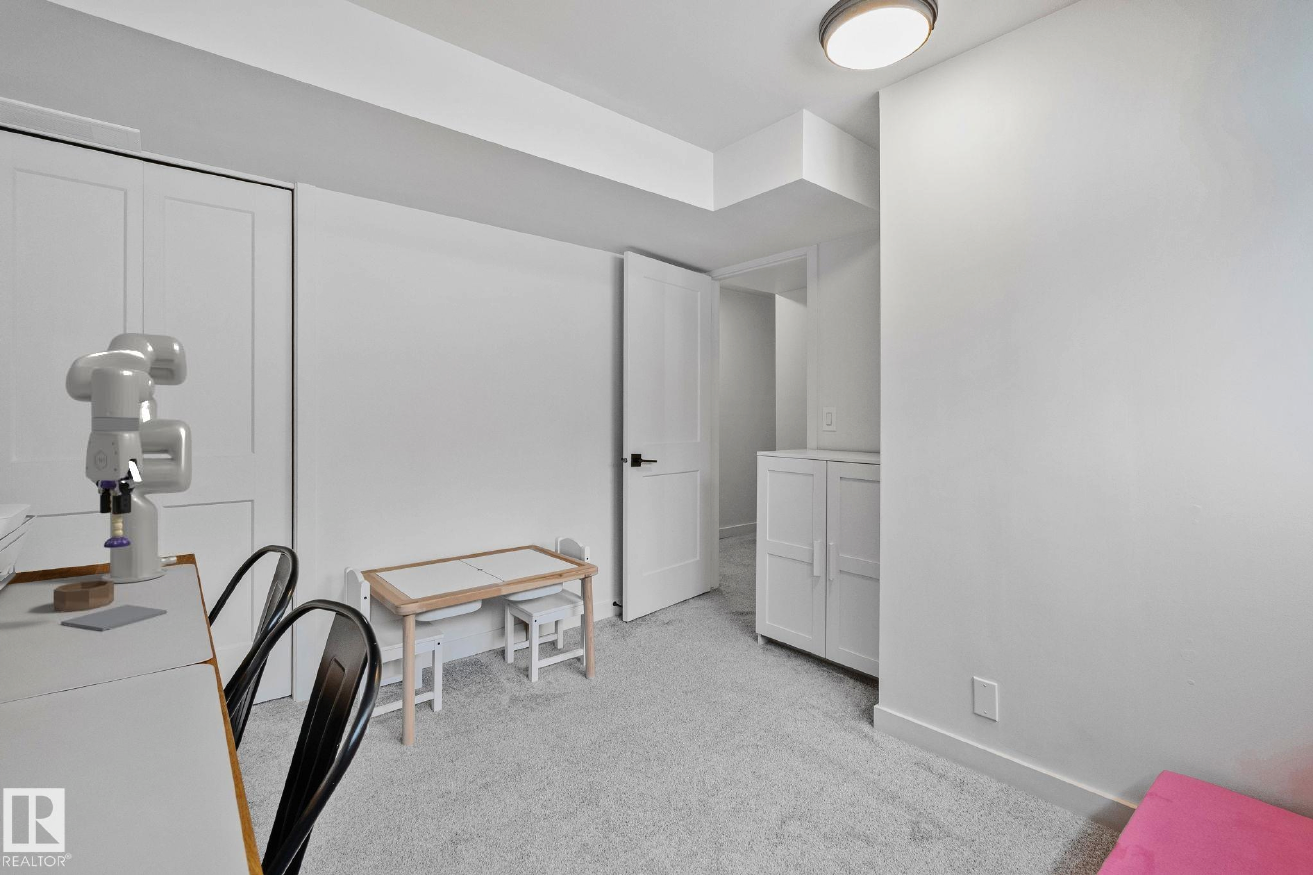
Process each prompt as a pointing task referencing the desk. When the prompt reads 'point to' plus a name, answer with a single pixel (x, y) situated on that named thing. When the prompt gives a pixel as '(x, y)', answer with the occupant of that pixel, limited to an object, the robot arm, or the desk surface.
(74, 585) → the holder ring
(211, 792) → the desk surface
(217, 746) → the desk surface
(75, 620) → the mat
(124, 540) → the toy lamp
